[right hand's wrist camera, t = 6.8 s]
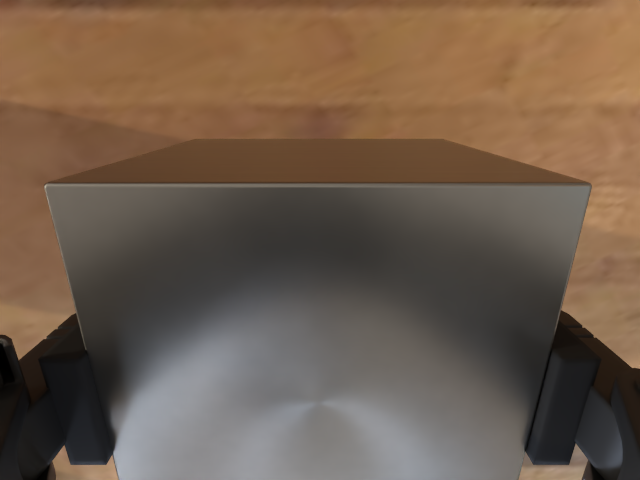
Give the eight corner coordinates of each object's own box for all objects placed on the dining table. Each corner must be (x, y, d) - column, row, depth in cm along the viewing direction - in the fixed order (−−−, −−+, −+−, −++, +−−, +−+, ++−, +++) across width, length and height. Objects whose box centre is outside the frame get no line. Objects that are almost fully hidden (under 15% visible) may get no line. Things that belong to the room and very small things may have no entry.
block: (443, 139, 14) (595, 182, 6) (420, 349, 17) (502, 549, 9) (194, 138, 14) (40, 183, 6) (217, 349, 17) (135, 549, 9)
